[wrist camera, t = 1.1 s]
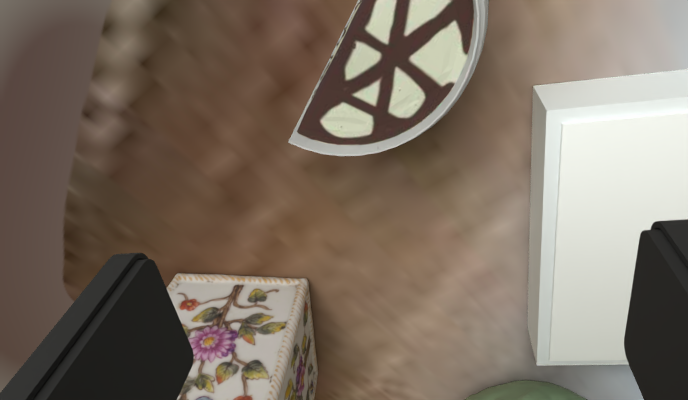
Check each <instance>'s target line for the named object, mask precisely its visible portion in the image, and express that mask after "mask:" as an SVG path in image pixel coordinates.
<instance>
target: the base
mask: <svg viewBox="0 0 688 400" xmlns="http://www.w3.org/2000/svg"><path fill="white" fill-rule="evenodd" d="M684 219H688V69H684V70H674V71H665V72H656V73H647V74H637V75H628V76H619V77H610V78H600V79H591V80H582V81H573V82H563V83H554V84H545V85H536V86H533V109H532V149H531V190H530V231H529V271H528V312H527V328H528V332H529V336H530V340H531V344H532V348H533V353H534V357H535V361H536V365H537V366H549V365H629V363H628V361H627V358H626V354H625V349H624V336H625V330H626V323H627V317H628V310H629V304H630V297H631V291H632V284H633V277H634V271H635V264H636V258H637V251H638V245H639V238H640V234H641V232H642V231H644V230H650V229H651V226H652V224H653V223H654V222H656V221H668V220H684Z"/></svg>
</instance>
